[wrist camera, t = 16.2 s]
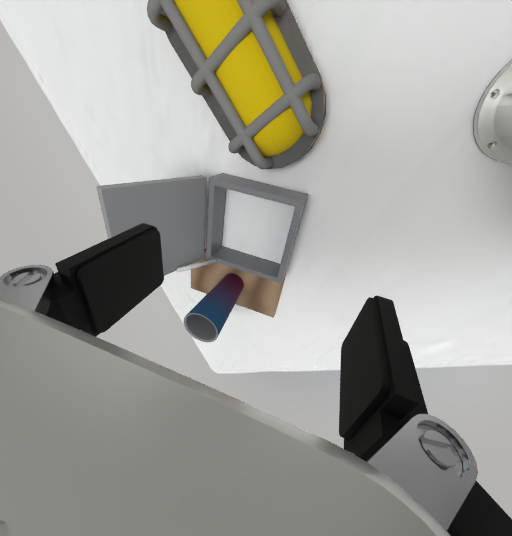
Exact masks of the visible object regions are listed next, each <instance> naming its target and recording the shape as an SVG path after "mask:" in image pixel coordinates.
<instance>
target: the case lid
mask: <svg viewBox="0 0 512 536" xmlns="http://www.w3.org/2000/svg"><path fill="white" fill-rule="evenodd" d="M97 191H98V195H99V200H100V204H101V209H102V213H103V217H104V222H105V227H106V231H107V235H108V239H109V238H111V237H114V236H116V235H118V234H120V233H122V232H124V231H126V230H129V229H131V228H133V227H135V226H137V225H139V224H142V223H146V224H149V225H152V226H155V227H156V228H157V229H158V231H159V232H160V237H161V249H162V261H163V273H164V275H167V274H169V273H171V272H174V271H176V269H177V268H179V267H183V266H187V265H190V264H192V263H195V262H197V261H199V260H202V259H203V258H204V227H205V196H206V177H204V176H192V177H182V178H172V179H162V180H152V181H143V182H133V183H123V184H113V185H103V186H97Z"/></svg>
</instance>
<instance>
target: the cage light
mask: <svg viewBox="0 0 512 536" xmlns="http://www.w3.org/2000/svg"><path fill="white" fill-rule="evenodd" d="M147 12H148V17H149V19H150V21H151V22H152V24H153V25H155V26H156V27H158V28H159V29H161V30H163V31H165V32H166V34H167V37H168V39H169V41H170V43H171V44H172V46H173V48H174V49H175V51H176V53H177V54H178V56H179V58H180V59H181V61H182V63H183V64H184V66H185V68H186V69H187V71H188V73H189V74H190V76H191V78H192V82H191V87H192V89H193V91H194V93H196V94H198V95H202V96H203V97H204V99H205V101H206V102H207V104H208V106H209V107H210V109H211V111H212V112H213V114H214V116H215V117H216V119H217V121H218V122H219V124H220V126H221V127H222V129H223V131H224V132H225V134H226V136H227V137H228V139H229V141H230V143H229V146H228V147H229V151H230V152H231V153H239V154H240V155H241V157H242V158H244V159H245V160H247V161H248V162H250V163H251V164H253V165H254V166H258V167H259V168H260V169H272V168H282V167H284V166H286V165H289V164H291V163H293V162H295V161H297V160H298V159H300V158H301V157H302V156H303V155H304V154H305V153H306V152H307V151H308V150H310V149H311V148H312V146H313V144H314V143H315V141H316V139H317V138H318V136H319V134H320V133H321V129H322V126H323V122H324V119H325V115H326V94H325V90H324V86H323V83H322V79H321V76H320V74H319V72H318V69H317V67H316V65H315V63H314V61H313V58H312V56H311V54H310V52H309V50H308V47H307V45H306V43H305V41H304V38H303V36H302V34H301V32H300V30H299V27H298V25H297V23H296V21H295V19H294V16H293V14H292V12H291V10H290V8H289V5H288V3H287V1H286V0H149V1H148V5H147Z"/></svg>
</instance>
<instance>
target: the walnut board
mask: <svg viewBox="0 0 512 536" xmlns="http://www.w3.org/2000/svg"><path fill="white" fill-rule="evenodd" d="M206 250H207V249H204V258H203V259H202V260H199V261H197V262H195V263H199V262H203V261H207V259H206ZM195 263H192V264H195ZM230 273H233V274H236V275H238V276H239V277H240V278H241V279H242V280H243V283H244V287H243V289H242V291H241V293H240V295H239V297H238V299H237V301H236V303H235V304H237V305H240V306H243V307H246V308H248V309H251V310H254V311H257V312H260V313H262V314H265V315H268V316H271V317H274V315H275V311H276V307H277V304H278V300H279V297H280V293H281V289H282V286H283V282H284V279H285V276H284V278H283V281H282V283H278V282H275V281H272V280H269V279H266V278H263V277H260V276H256V275H253V274H250V273H247V272H244V271H241V270H238V269H235V268H232V267H229V266H226V265H223V264H220V263H217V262H215V263H212V264H208V265H204V266H201V267H197V268H193V269H191V288H192V289H195V290H198V291H201V292H204V293H206V294H208V293H209V292H210V291H211V290H212V289H213V288H214V287H215V286H216V285H217V284H218V283H219V282H220V281H221V280H222V279H223V278H224V277H225V276H226V275H227V274H230ZM285 275H286V274H285Z"/></svg>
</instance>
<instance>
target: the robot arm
mask: <svg viewBox="0 0 512 536" xmlns="http://www.w3.org/2000/svg"><path fill="white" fill-rule="evenodd" d="M492 92H493V93H494V95H493V96H492V97H490V94H491V93H492ZM474 135H475V139H476V142H477V144H478V146H479V148H480V149H481V150H482V151H483V152H484V153H485V154H486V155H487V156H489V157H491V158H493V159H494V160H497V161H501V162H504V163H510V164H512V60H511V61H510V62H509V63H508V64H507V65H506V66H505V67H504V68H503V69H502V70H501V71H500V72H499V73H498V75H497V76H496V77H495V78H494V79H493V81H492V82H491V83H490V84H489V86H488V88H487V89H486V91H485V93H484V94H483V96H482V98H481V100H480V103H479V105H478V107H477V110H476V114H475V119H474ZM489 143H491V146H490V147H488V144H489ZM56 266H57V269H58V272H57V273H55V274H54V273H53V271H52V269H51V268H50V267H48V266H43V265H30V266H24V267H19V268H16V269H13V270H11V271H8V272H7V273H5V274H3V275H2V276H1V277H0V536H512V519H511V518H510V517H509V516H508V515H507V514H506V513H505V512H504V510H503V509H502V508H501V507H500V506H499V505H498V504H497V503H496V502H495V501H494V500H493V499H492V498H491V496H490V495H489V494H488V493H487V492H486V491H485V490H484V489H483V488H482V487H481V485H479V483H478V482H477V481H476V478H477V474H478V471H477V465H476V461H475V459H474V456H473V455H472V452H471V450H470V449H469V447H468V446H467V444H466V443H465V441H464V440H463V439H462V438H461V437H460V436H459V435H458V433H457V432H456V431H454V429H452V428H451V427H450V426H449V425H447V424H446V423H445V422H443V421H442V420H440V419H438V418H436V417H434V416H431V415H428V412H427V408H426V405H425V401H424V398H423V395H422V391H421V387H420V384H419V380H418V377H417V373H416V370H415V366H414V362H413V359H412V355H411V352H410V348H409V346H408V343H407V342H406V341H404V340H403V337H402V334H401V330H400V326H399V322H398V318H397V315H396V311H395V307H394V303H393V301H392V300H389V299H386V298H383V297H380V296H375V297H374V298H370V297H369V298H368V299H367V301H366V303H365V304H364V306H363V308H362V310H361V312H360V313H359V315H358V317H357V319H356V320H355V322H354V324H353V326H352V328H351V329H350V331H349V333H348V335H347V336H346V338H345V340H344V342H343V344H342V348H341V377H340V381H341V382H340V415H339V416H340V417H339V434H340V436H341V437H343V438H344V449H343V448H340V447H339V446H337V445H335V444H333V443H331V442H329V441H327V440H325V439H323V438H321V437H319V436H316V435H315V434H312V433H310V432H308V431H306V430H303V429H302V428H300V427H297V426H295V425H293V424H291V423H289V422H287V421H285V420H282V419H280V418H278V417H276V416H274V415H272V414H269V413H267V412H265V411H263V410H260V409H258V408H256V407H254V406H251V405H249V404H247V403H245V402H242V401H240V400H238V399H236V398H233V397H231V396H229V395H227V394H225V393H222V392H220V391H218V390H216V389H213V388H211V387H209V386H206V385H204V384H202V383H200V382H197V381H195V380H193V379H191V378H188V377H186V376H184V375H182V374H179V373H177V372H175V371H173V370H170V369H168V368H166V367H163V366H161V365H159V364H157V363H154V362H152V361H149V360H148V359H145V358H143V357H141V356H138V355H136V354H134V353H132V352H129V351H127V350H125V349H122V348H120V347H118V346H116V345H113V344H111V343H108V342H106V341H104V340H102V339H99V338H97V337H96V336H97V335H98V334H100V333H102V332H105V331H106V330H108V329H109V328H110V327H111V326H112V325H114V324H115V323H116V322H117V321H118V320H120V319H121V318H122V317H123V316H124V315H125V314H127V313H128V312H129V311H130V310H131V309H133V308H134V307H135V306H136V305H137V304H139V303H140V302H141V301H142V300H143V299H144V298H146V297H147V296H148V295H149V294H150V293H152V292H153V291H154V290H155V289H156V288H158V287H159V286H160V285H161V284H162V282H163V280H164V273H163V261H162V249H161V237H160V232H159V231H158V229H157V228H156V227H155V226H152V225H149V224H146V223H142V224H139V225H137V226H135V227H133V228H131V229H129V230H126V231H124V232H122V233H120V234H118V235H116V236H114V237H111V238H109V239H107V240H105V241H103V242H101V243H99V244H97V245H94V246H92V247H90V248H88V249H86V250H84V251H81V252H79V253H77V254H75V255H73V256H71V257H68V258H67V259H64V260H62V261H60V262H58V263H56ZM81 330H82V331H81ZM346 450H347V451H346ZM348 451H349V452H348ZM350 452H351V453H350ZM352 453H353V454H352ZM354 454H355V455H354Z"/></svg>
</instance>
